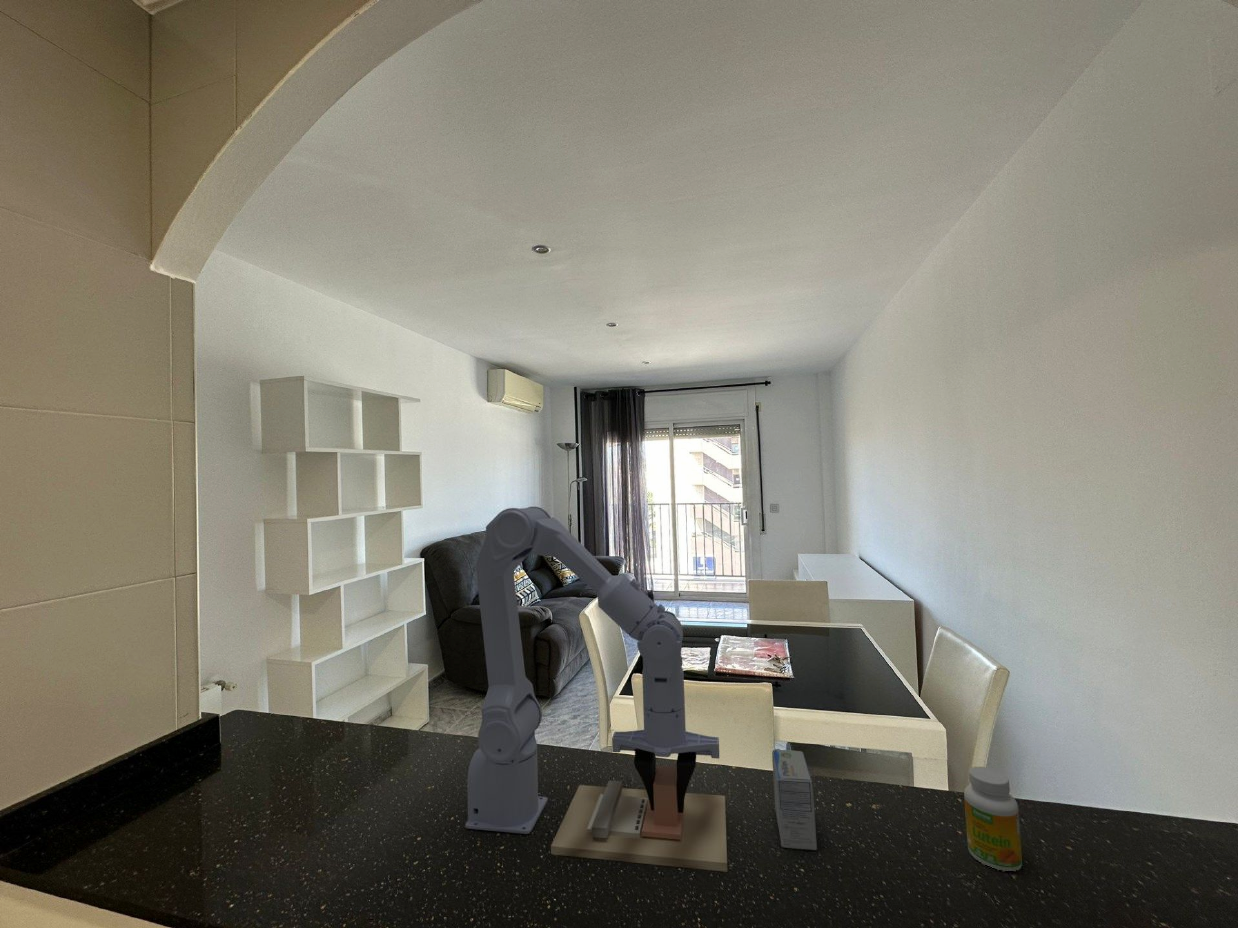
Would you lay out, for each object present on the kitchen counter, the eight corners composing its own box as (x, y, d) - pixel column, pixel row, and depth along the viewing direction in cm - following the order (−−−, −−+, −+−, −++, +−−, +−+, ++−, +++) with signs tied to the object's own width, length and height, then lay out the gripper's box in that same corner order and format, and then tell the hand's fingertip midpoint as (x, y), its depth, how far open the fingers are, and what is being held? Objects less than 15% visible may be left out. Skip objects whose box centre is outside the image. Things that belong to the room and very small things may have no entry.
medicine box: (817, 852, 64) (813, 780, 65) (780, 848, 65) (776, 777, 66) (807, 814, 72) (804, 750, 73) (774, 811, 73) (771, 748, 73)
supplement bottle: (967, 862, 62) (961, 778, 62) (967, 837, 66) (962, 759, 67) (1024, 880, 59) (1017, 791, 59) (1020, 852, 63) (1014, 770, 64)
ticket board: (551, 853, 65) (550, 831, 66) (579, 791, 79) (579, 772, 79) (727, 871, 61) (726, 847, 62) (725, 802, 75) (724, 782, 75)
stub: (641, 835, 66) (640, 790, 67) (649, 799, 74) (648, 759, 75) (680, 839, 65) (679, 792, 66) (684, 802, 73) (682, 761, 74)
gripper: (606, 714, 68) (609, 820, 67) (717, 719, 65) (722, 830, 65) (616, 693, 75) (619, 790, 74) (717, 697, 72) (721, 798, 72)
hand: (667, 807), depth 70 cm, fingers closed on stub, 3 cm apart
